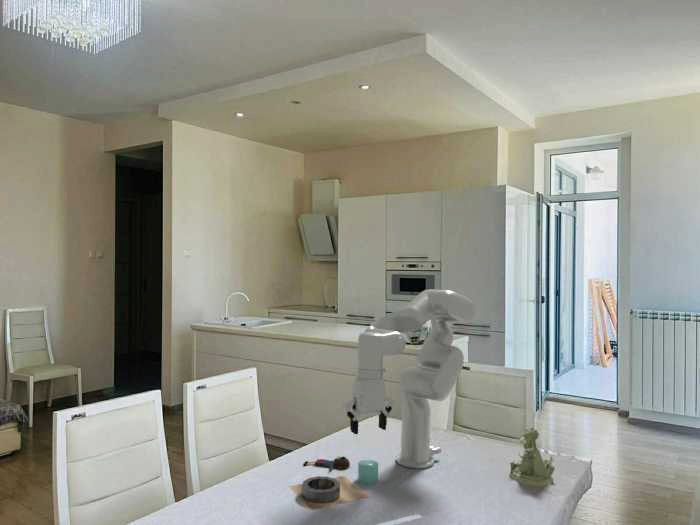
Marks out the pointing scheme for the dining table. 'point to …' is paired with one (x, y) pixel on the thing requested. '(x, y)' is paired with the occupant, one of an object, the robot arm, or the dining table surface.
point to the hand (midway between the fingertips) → (368, 430)
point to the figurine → (532, 463)
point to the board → (346, 493)
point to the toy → (330, 463)
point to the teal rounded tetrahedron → (368, 472)
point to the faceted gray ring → (321, 495)
